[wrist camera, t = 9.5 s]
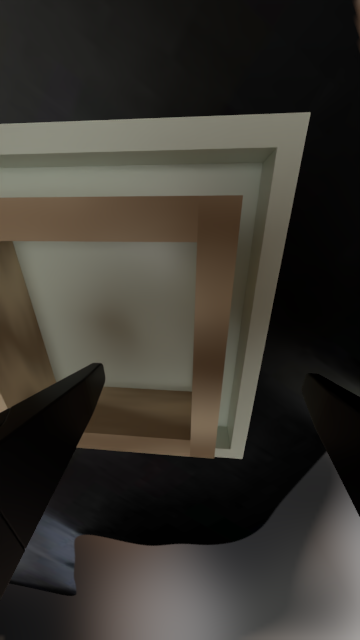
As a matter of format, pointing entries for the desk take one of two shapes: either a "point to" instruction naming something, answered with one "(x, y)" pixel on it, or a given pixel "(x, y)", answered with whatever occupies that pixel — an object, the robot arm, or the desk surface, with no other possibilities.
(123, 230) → the frame ring
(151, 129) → the tray
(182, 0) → the desk surface
